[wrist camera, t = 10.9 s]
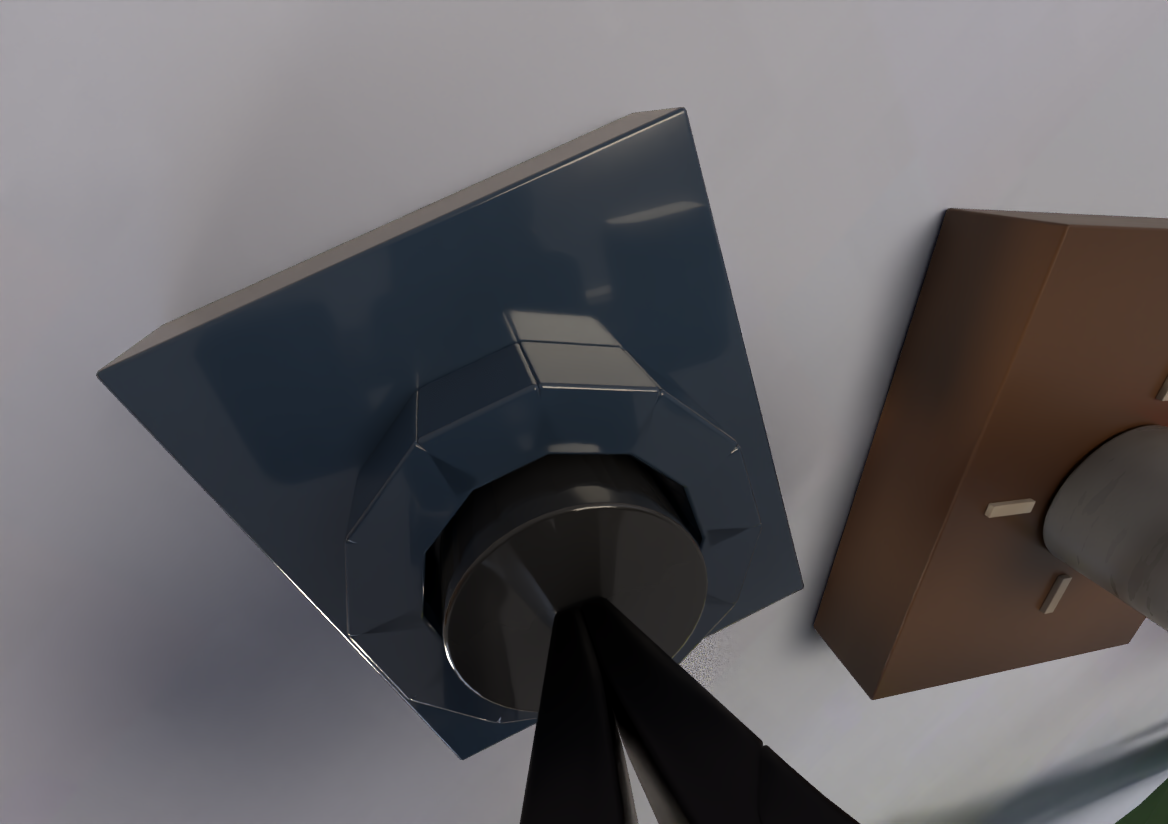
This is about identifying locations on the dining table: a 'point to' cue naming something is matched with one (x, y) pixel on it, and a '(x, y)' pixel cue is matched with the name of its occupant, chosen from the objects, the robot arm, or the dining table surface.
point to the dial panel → (998, 448)
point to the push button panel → (477, 394)
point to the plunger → (561, 567)
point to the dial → (1118, 520)
